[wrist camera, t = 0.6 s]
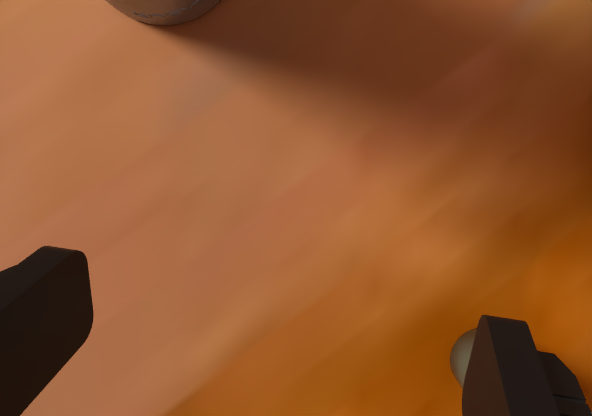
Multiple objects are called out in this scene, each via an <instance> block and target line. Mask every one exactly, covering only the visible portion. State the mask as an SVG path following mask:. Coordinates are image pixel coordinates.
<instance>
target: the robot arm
mask: <svg viewBox="0 0 592 416" xmlns="http://www.w3.org/2000/svg"><path fill="white" fill-rule="evenodd" d="M106 1H107V2H108V3H110V4H111V5H112V6H113V7H115V8H116V9H117V10H119V11H120V12H122V13H124V14H125V15H127V16H129V17H131V18H133V19H135V20H138V21H141V22H144V23H148V24H155V25H173V24H180V23H184V22H187V21H190V20H192V19H195V18H198V17H199V16H201V15H202V14H204V13H205V12H207V11H209V10H210V9H212V8H213V7H214V6H215V5H216V4H217V3H218V2H219V1H220V0H106ZM92 323H93V305H92V297H91V288H90V280H89V271H88V263H87V259H86V256H85V254H84V253H83V252H81V251H78V250H71V249H65V248H58V247H52V246H43V247H41V248H40V249H38V250H37V251H35V252H34V253H33V254H31V255H30V256H29V257H27V258H26V259H25V260H23V261H22V262H20V263H19V264H18V265H15V266H13V267H10V268H8V269H5V270H3V271H1V272H0V416H20V415H21V414H22V413H23V411H24V410H25V409H26V408H27V407H28V406H29V405H30V404H31V402H32V401H33V400H34V399H35V398H36V397H37V396H38V394H39V393H40V392H41V391H42V390H43V389H44V388H45V387H46V385H47V384H48V383H49V382H50V381H51V380H52V379H53V378H54V376H55V375H56V374H57V373H58V372H59V371H60V370H61V368H62V367H63V366H64V365H65V364H66V363H67V362H68V361H69V359H70V358H71V357H72V356H73V355H74V354H75V353H76V351H77V350H78V349H79V348H80V347H81V346H82V345H83V343H84V342H85V341H86V339H87V337H88V335H89V333H90V331H91V327H92ZM585 400H586V399H585V397H584V395H583V392H582V390H581V388H580V385H579V383H578V381H577V378H576V376H575V375H574V374H573V373H572V372H571V371H570V370H569V369H568V368H567V367H566V366H565V364H564V363H563V362H562V361H561V360H560V359H559V358H558V357H557V356H556V355H555V354H552V353H546V352H540V351H537V350H536V347H535V344H534V341H533V338H532V336H531V333H530V330H529V327H528V325H527V323H526V322H525V321H521V320H514V319H508V318H501V317H495V316H488V315H482V316H481V318H480V320H479V323H478V327H477V331H476V335H475V339H474V343H473V347H472V351H471V355H470V359H469V363H468V367H467V371H466V375H465V379H464V385H463V394H462V414H463V416H592V413H591V411H590V408H589V406H588V404H585Z"/></svg>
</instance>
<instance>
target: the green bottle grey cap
mask: <svg viewBox="0 0 592 416" xmlns="http://www.w3.org/2000/svg"><path fill="white" fill-rule="evenodd" d="M476 331H477V328H475V329H472V330H470V331H468V332H466V333H464V334H463V335H462V336H461V337H460V338H459V339H458V340H457V341H456V343H455V344H454V346H453V348H452V351H451V356H450V364H451V369H452V372H453V374H454V376H455V377H456V379H457V380H458V382H459V384H460V385H461V387H462V388H463V385H464V379H465V375H466V371H467V367H468V363H469V359H470V355H471V351H472V347H473V343H474V339H475V335H476ZM591 413H592V412H591Z"/></svg>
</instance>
